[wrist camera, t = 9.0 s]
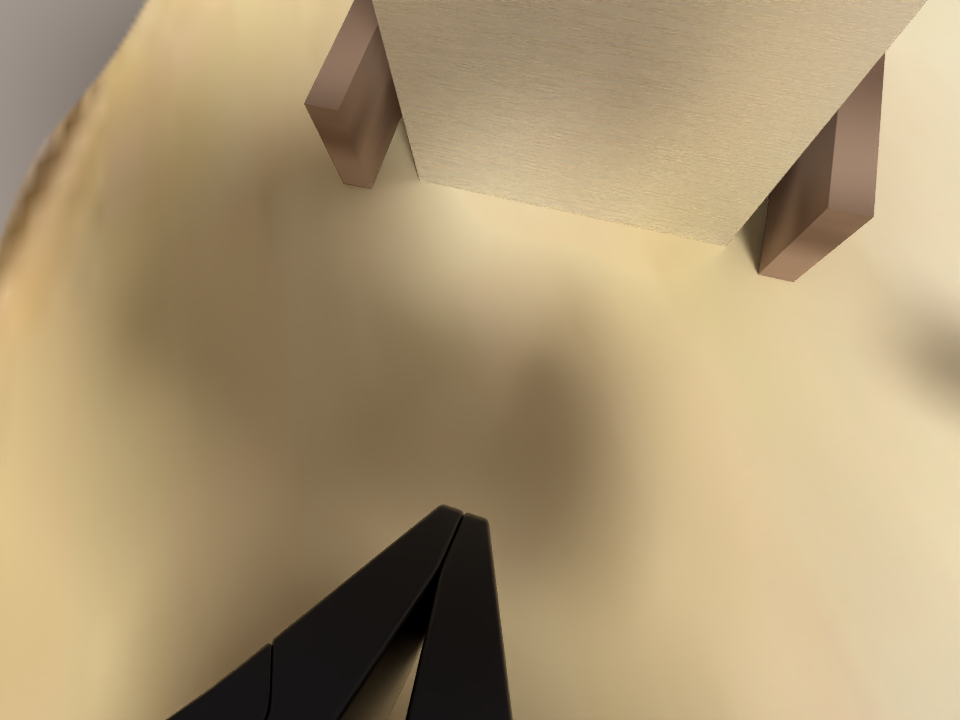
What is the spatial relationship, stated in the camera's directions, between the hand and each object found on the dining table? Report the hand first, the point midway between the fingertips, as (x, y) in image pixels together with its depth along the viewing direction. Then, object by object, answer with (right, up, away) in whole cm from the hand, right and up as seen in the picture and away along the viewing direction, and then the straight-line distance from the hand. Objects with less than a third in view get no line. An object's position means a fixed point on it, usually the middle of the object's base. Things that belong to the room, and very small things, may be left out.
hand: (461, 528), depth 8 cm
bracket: (+5, +12, +12) cm, 18 cm away
